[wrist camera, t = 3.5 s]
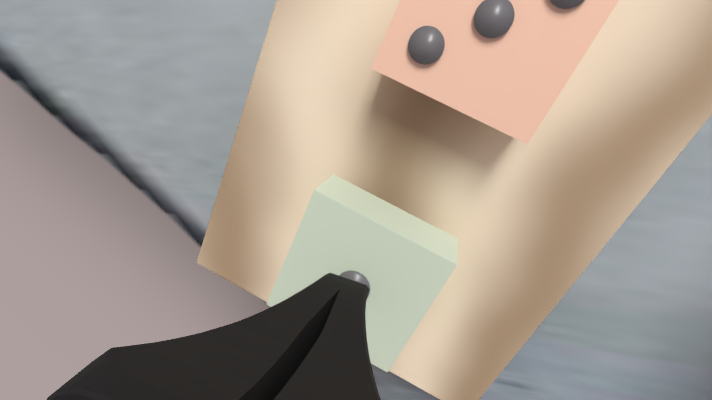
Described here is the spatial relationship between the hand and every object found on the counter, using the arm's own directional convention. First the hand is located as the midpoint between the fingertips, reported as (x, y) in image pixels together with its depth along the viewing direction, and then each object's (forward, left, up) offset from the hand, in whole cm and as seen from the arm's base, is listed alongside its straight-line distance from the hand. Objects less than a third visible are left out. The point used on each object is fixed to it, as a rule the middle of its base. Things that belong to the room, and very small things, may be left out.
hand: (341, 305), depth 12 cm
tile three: (0, -9, -4) cm, 10 cm away
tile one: (0, 0, -3) cm, 3 cm away
